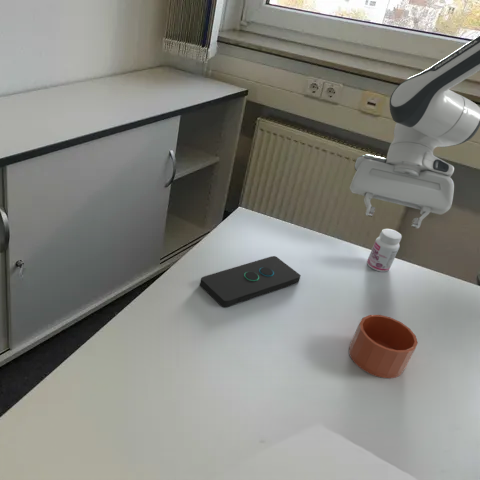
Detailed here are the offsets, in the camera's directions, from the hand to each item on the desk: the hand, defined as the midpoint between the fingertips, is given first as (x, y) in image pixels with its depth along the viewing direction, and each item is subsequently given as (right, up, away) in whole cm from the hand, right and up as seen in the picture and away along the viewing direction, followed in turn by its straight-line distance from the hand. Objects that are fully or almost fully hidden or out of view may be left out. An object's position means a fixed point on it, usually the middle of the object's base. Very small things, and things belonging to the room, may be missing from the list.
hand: (391, 221), depth 117 cm
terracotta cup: (-15, -25, -24) cm, 37 cm away
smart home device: (-33, -13, -8) cm, 36 cm away
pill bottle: (-3, -10, +1) cm, 10 cm away
